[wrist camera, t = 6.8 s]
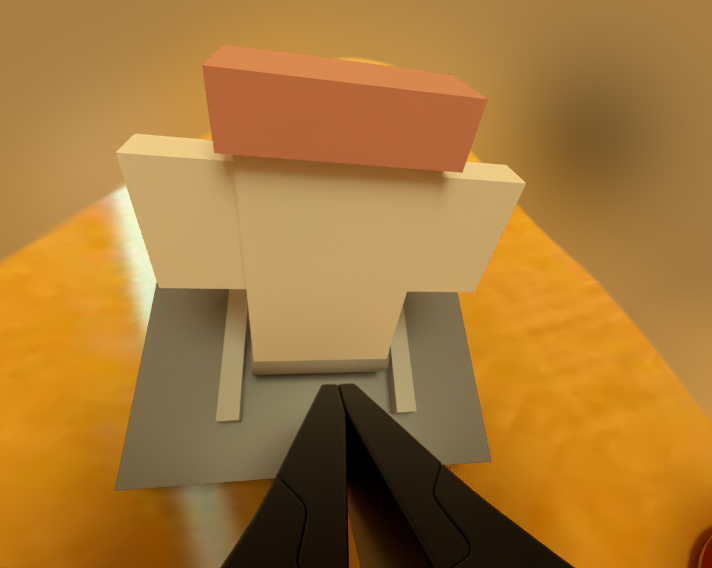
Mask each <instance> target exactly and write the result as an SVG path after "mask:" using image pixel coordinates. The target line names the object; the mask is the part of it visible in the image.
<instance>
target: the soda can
mask: <svg viewBox="0 0 712 568" xmlns="http://www.w3.org/2000/svg"><path fill="white" fill-rule="evenodd" d="M697 568H712V536H711V537H710V538H709V540H708V541H707V543H706V544H705V545H704V547H703V548H702V550H701V553H700V556H699V559H698V563H697Z"/></svg>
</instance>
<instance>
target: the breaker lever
mask: <svg viewBox="0 0 712 568" xmlns="http://www.w3.org/2000/svg"><path fill="white" fill-rule="evenodd" d="M202 67H203V73H204V81H205V89H206V96H207V104H208V111H209V118H210V125H211V133H212V140H203V139H191V138H179V137H167V136H155V135H144V134H134V135H133V136H132V137H131V138H130V139H129V140H128V141H127V142H126V143H125V144H124V145H123V146H122V147H121V148H120V149H119V150H118V151H117V152H116V155H117V158H118V161H119V164H120V167H121V170H122V174H123V177H124V180H125V183H126V186H127V189H128V192H129V196H130V199H131V202H132V205H133V208H134V211H135V214H136V217H137V221H138V224H139V227H140V230H141V233H142V236H143V239H144V242H145V245H146V249H147V252H148V255H149V258H150V261H151V264H152V267H153V270H154V274H155V277H156V280H157V283H158V286H159V288H197V289H246V290H247V300H248V310H249V320H250V330H251V339H252V344H251V371H252V375H268V374H305V373H341V372H378V371H386V370H387V367H388V363H389V349H390V346H391V343H392V339H393V336H394V333H395V329H396V326H397V323H398V319H399V316H400V313H401V310H402V306H403V303H404V300H405V296H406V293H407V291H409V292H475V290H476V288H477V286H478V283H479V281H480V279H481V277H482V275H483V273H484V271H485V269H486V267H487V265H488V262H489V260H490V258H491V256H492V254H493V252H494V250H495V248H496V246H497V243H498V241H499V239H500V237H501V235H502V233H503V231H504V229H505V227H506V225H507V222H508V220H509V218H510V216H511V214H512V212H513V210H514V208H515V206H516V203H517V201H518V199H519V197H520V195H521V193H522V190H523V189H524V187H525V185H526V183H525V182H524V181H523V180H522V179H521V178H519V176H518V175H516V174H515V173H514V172H513V171H512V170H511V169H510V168H509V167H508V166H507V165H498V164H487V163H475V162H466V161H467V158H468V155H469V152H470V149H471V146H472V143H473V141H474V138H475V134H476V132H477V129H478V126H479V123H480V120H481V117H482V114H483V111H484V108H485V105H486V102H487V99H486V98H485V97H483V96H482V95H481V94H479V93H478V92H476V91H475V90H473V89H472V88H470V87H469V86H467V85H466V84H464V83H463V82H461V81H460V80H458V79H457V78H455V77H454V76H453V75H451V74H445V73H437V72H429V71H422V70H414V69H407V68H399V67H391V66H384V65H376V64H368V63H361V62H353V61H345V60H338V59H330V58H322V57H314V56H307V55H299V54H292V53H284V52H277V51H268V50H260V49H253V48H246V47H238V46H231V45H223V46H222V47H221V48H220V49H219V50H217V51H216V52H215V54H213V55H212V56H211V57H210V58H209V59H208V60H207V61H206V62H205V63H204V64H203V65H202Z"/></svg>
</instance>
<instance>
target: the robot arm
mask: <svg viewBox="0 0 712 568" xmlns="http://www.w3.org/2000/svg"><path fill="white" fill-rule="evenodd" d="M348 512H349V517H350V521H351V526H352V531H353V536H354V540H355V545H356V550H357V554H358V559H359V564H360V568H575V567H573V566H572V565H570V564H569V563H568V562H566V561H565V560H563V559H562V558H561V557H559V556H558V555H557V554H555V553H554V552H553V551H551V550H550V549H549V548H547V547H546V546H545V545H543V544H542V543H541V542H539V541H538V540H537V539H536V538H534V537H533V536H532V535H530V534H529V533H528V532H526V531H525V530H524V529H522V528H521V527H520V526H518V525H517V524H516V523H514V522H513V521H512V520H510V519H509V518H508V517H506V516H505V515H504V514H503V513H501V512H500V511H499V510H497V509H496V508H495V507H494V506H492V505H491V504H490V503H489V502H487V501H486V500H485V499H483V498H482V497H481V496H480V495H478V494H477V493H476V492H475V491H474V490H472V489H471V488H470V487H469V486H468V485H467V484H465V483H464V482H463V481H462V480H461V479H460V478H458V477H457V476H456V475H455V474H454V473H453V472H452V471H451V470H450V469H448V468H447V467H446V466H445V465H442V463H441V461H439V460H438V459H437V458H436V457H435V456H434V455H433V454H432V453H431V452H430V451H428V450H427V449H426V448H425V447H424V446H423V445H422V444H421V443H420V442H419V441H417V440H416V439H415V438H414V437H413V436H412V435H411V434H410V433H409V432H408V431H406V430H405V429H404V428H403V427H402V426H401V425H400V424H399V423H398V422H397V421H395V420H394V419H393V418H392V417H391V416H390V415H389V414H388V413H387V412H385V411H384V410H383V409H382V408H381V407H380V406H379V405H378V404H377V403H376V402H374V401H373V400H372V399H371V398H370V397H369V396H368V395H367V394H366V393H365V392H363V391H362V390H361V389H360V388H359V387H358V386H357V385H356V384H354V383H344V384H339V385H337V384H322V385H321V387H320V388H319V390H318V392H317V394H316V396H315V398H314V400H313V402H312V404H311V406H310V408H309V410H308V412H307V414H306V416H305V418H304V420H303V422H302V424H301V426H300V428H299V430H298V432H297V434H296V436H295V438H294V440H293V442H292V444H291V446H290V448H289V450H288V452H287V454H286V456H285V458H284V460H283V462H282V464H281V466H280V468H279V470H278V472H277V474H276V478H274V480H273V482H272V484H271V486H270V488H269V490H268V492H267V494H266V496H265V497H264V499H263V501H262V503H261V505H260V507H259V508H258V510H257V512H256V514H255V516H254V517H253V519H252V520H251V522H250V523H249V525H248V527H247V528H246V530H245V531H244V533H243V535H242V536H241V538H240V539H239V541H238V542H237V544H236V545H235V547H234V548H233V550H232V551H231V553H230V554H229V556H228V557H227V559H226V560H225V562H224V563H223V564H222V566H221V567H220V568H349V546H348Z"/></svg>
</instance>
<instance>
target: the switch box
mask: <svg viewBox="0 0 712 568" xmlns="http://www.w3.org/2000/svg"><path fill="white" fill-rule="evenodd" d="M251 344H252V339H251V330H250V320H249V310H248V300H247V290H246V289H197V288H159V286H158V283H157V284H156V289H155V294H154V299H153V304H152V309H151V314H150V318H149V323H148V328H147V333H146V338H145V343H144V348H143V353H142V358H141V363H140V368H139V373H138V378H137V383H136V387H135V392H134V397H133V402H132V407H131V412H130V417H129V422H128V427H127V432H126V437H125V442H124V447H123V452H122V456H121V461H120V466H119V471H118V476H117V481H116V486H115V491H119V490H131V489H144V488H157V487H170V486H183V485H195V484H208V483H221V482H234V481H247V480H260V479H272V478H276V474H277V472H278V470H279V468H280V466H281V464H282V462H283V460H284V458H285V456H286V454H287V452H288V450H289V448H290V446H291V444H292V442H293V440H294V438H295V436H296V434H297V432H298V430H299V428H300V426H301V424H302V422H303V420H304V418H305V416H306V414H307V412H308V410H309V408H310V406H311V404H312V402H313V400H314V398H315V396H316V394H317V392H318V390H319V388H320V387H321V385H322V384H337V385H339V384H344V383H354V384H356V385H357V386H358V387H359V388H360V389H361V390H362V391H363V392H365V393H366V394H367V395H368V396H369V397H370V398H371V399H372V400H373V401H374V402H376V403H377V404H378V405H379V406H380V407H381V408H382V409H383V410H384V411H385V412H387V413H388V414H389V415H390V416H391V417H392V418H393V419H394V420H395V421H397V422H398V423H399V424H400V425H401V426H402V427H403V428H404V429H405V430H406V431H408V432H409V433H410V434H411V435H412V436H413V437H414V438H415V439H416V440H417V441H419V442H420V443H421V444H422V445H423V446H424V447H425V448H426V449H427V450H428V451H430V452H431V453H432V454H433V455H434V456H435V457H436V458H437V459H438V460H439V461H441V463H442V465H452V464H464V463H477V462H490V461H491V457H490V453H489V448H488V443H487V438H486V433H485V428H484V423H483V418H482V413H481V408H480V403H479V398H478V393H477V388H476V383H475V378H474V373H473V368H472V363H471V358H470V353H469V348H468V343H467V338H466V333H465V328H464V323H463V318H462V313H461V308H460V303H459V298H458V293H457V292H409V291H407V293H406V296H405V300H404V303H403V306H402V310H401V313H400V316H399V319H398V323H397V326H396V329H395V333H394V336H393V339H392V343H391V346H390V349H389V363H388V367H387V370H386V371H378V372H341V373H305V374H268V375H252V371H251Z"/></svg>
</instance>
